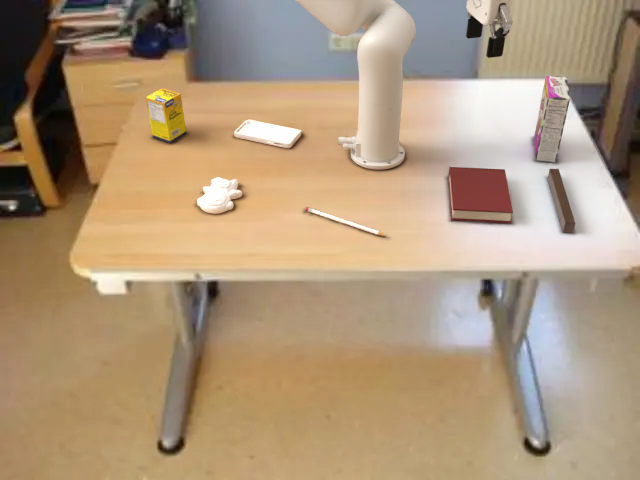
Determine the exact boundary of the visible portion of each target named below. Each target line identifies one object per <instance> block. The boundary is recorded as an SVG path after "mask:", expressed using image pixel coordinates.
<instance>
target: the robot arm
mask: <svg viewBox="0 0 640 480" xmlns="http://www.w3.org/2000/svg"><path fill="white" fill-rule="evenodd" d="M294 1H295V2H296V3H298V5H300V6H301V7H302V8H303V9H304V10H305V11H306V12H307V13H309V14H310V15H312V16H313V17H314V18H315V19H317V20H318V21H319V22H320V24H322V25H324V26H325V27H326V28H327V29H329V30H330V31H331V32H332V33H334V34H335V35H338V36H340V37H349V36H351V35H353V34H354V33H356V32H357V31H359V29H360V28H361V29H362V30H363V31H364V32H363V34H362V36H361V38H360V40H359V42H358V46H357V52H356V59H357V67H358V115H357V117H358V118H357V132H356V135H352V136H350V137H348V136H338V138H337V139H338V140H337V141H338V142H337V143H338V146H342V150H347V151H348V150H349V151H350V159H351V160H352V161H353V162H354V163H355V164H356V165H358V166H360V167H362V168H365V169H369V170H379V171H381V170H389V169H392V168H395V167H397V166H399V165H400V164H402V162H404V160H405V156H406V152H405V149H404V147H403V146H402V145H401V144H400V134H401V119H402V106H403V105H402V104H403V92H404V91H403V89H404V88H403V87H404V86H403V85H404V74H403V64H404V63H403V61H404V58H405V55H406V54H407V52H408V51H409V49H410V48H411V46H412V45H413V43H414V41H415V38H416V35H417V27H416V23H415V21H414V19H413V17H412V16H411V14H410V13H408V11H407V10H405V8H403V7H402V6H401V5H400V4H399V3H397V2H396V1H395V0H294ZM512 1H513V0H466V5H465V7H466V11H467V18H468V19H467V24H466V25H467V26H466V33H465V37H466V38H467V39H477V38H481V37H482V35H483V28H484V26H485V27H487V26H489V32H490V36H489V37H488V42H487V48H486V55H485V56H486V58H488V59H491V58H499V57H502V56H503V54H504V49H505V43H506V38H507V37H508V34H509V33H510V30H511V27H512V26H513V23H514V22H513V19H512V16H511V14H510V13H511V11H512V4H513V3H512ZM496 26H497V27H498V26H500V27H498V28H497V29H496Z"/></svg>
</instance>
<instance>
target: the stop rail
mask: <svg viewBox="0 0 640 480" xmlns="http://www.w3.org/2000/svg"><path fill="white" fill-rule="evenodd" d="M547 181H548V185H549V188H550V192H551V195H552V199H553V202H554V205H555V209H556V214H557V216H558V217H557V218H558V221H559V225H560V227H561V231H562V233H568V234H572V233H574V230H575V226H576V220H575V216H574V213H573V210H572V207H571V204H570V201H569V197H568V195H567V191H566V188H565V184H564V181H563V178H562V175H561V171H560V169H559V168H549V169H548V174H547Z"/></svg>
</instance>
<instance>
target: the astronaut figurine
mask: <svg viewBox="0 0 640 480" xmlns="http://www.w3.org/2000/svg"><path fill="white" fill-rule="evenodd" d="M210 182H211V183H210V186H208V185H205V186H202V192H203V193H204V194H203V195H202V196H200V197H198V198H197V200H196V204H197V206H198V207H199V208H200V209H201V210H202V211H203V212H205V213H207V214H212V215H213V214H214V215H215V214H222V213H226V212H227V211H231V210H232V209H233V208H234V202H233V201H232V200H236V199H239V198H241V197H242V196H243V191H242V190H240V189H238V187H239V180H238V179H237V178H236V179H235V178H234V179H231V180H229V179H226V178H222V177H221V176H217V177H215V178H213V179H211V180H210Z"/></svg>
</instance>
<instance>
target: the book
mask: <svg viewBox="0 0 640 480" xmlns="http://www.w3.org/2000/svg"><path fill="white" fill-rule="evenodd" d="M447 181H448V192H449V193H448V194H449V206H450V219H451V221H452V222H469V223H470V222H471V223H487V224H507V225H508V224H512V219H511V218H512V214H514V208H513V204H512V199H511V194H510V189H509V184H508V177H507V173H506V169H505V168H485V167H467V166H466V167H465V166H464V167H463V166H449V167H448V175H447Z"/></svg>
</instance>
